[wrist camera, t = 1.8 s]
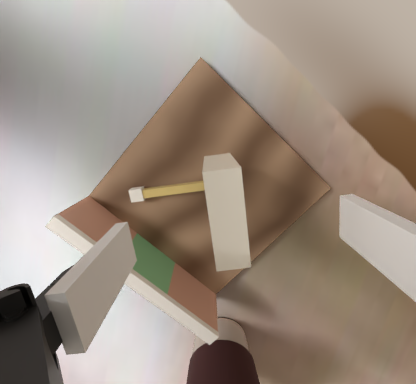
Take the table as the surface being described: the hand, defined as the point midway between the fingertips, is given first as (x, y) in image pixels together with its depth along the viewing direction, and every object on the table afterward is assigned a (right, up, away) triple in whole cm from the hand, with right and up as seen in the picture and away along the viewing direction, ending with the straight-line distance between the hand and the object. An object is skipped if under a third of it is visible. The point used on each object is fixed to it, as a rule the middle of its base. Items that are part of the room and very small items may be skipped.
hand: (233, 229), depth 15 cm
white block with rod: (-5, +3, +12) cm, 14 cm away
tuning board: (-2, +2, +14) cm, 14 cm away
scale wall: (-8, -5, +15) cm, 18 cm away
